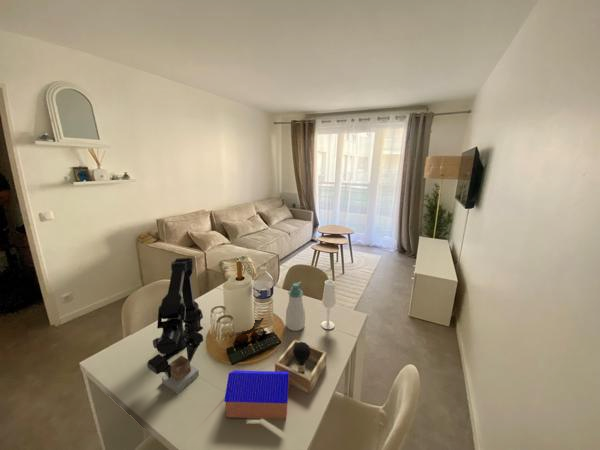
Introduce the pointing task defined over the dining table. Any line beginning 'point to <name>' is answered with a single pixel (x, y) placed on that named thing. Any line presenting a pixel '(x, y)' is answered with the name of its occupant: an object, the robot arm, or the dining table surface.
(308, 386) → the oak bulb corral
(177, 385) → the grey plinth
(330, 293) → the champagne flute
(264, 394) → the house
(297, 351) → the light bulb
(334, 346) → the dining table surface
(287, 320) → the soap bottle
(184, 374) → the walnut cube
